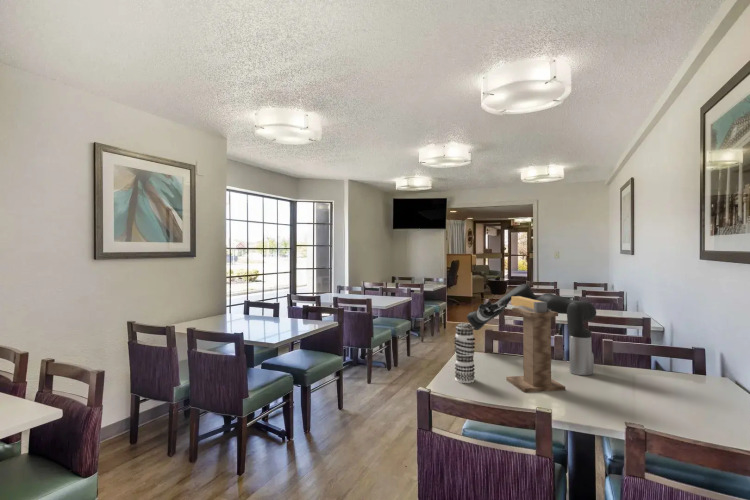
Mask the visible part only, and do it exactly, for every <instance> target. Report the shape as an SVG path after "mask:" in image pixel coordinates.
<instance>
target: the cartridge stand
mask: <svg viewBox="0 0 750 500" xmlns="http://www.w3.org/2000/svg"><path fill="white" fill-rule="evenodd" d="M511 311H512V312H514V313H516V314H520V315H523V316H522V321H523V322H522V327H523V328H522V331H523V332H522V333H523V337H522V338H523V339H522V341H523V343H522V344H523V345H522V346H523V347H522V348H523V350H522V351H523V357H522V358H523V375H516V376H515V375H512V376H511V375H510V376H506V379H505V380H506V382H508V383H510V384H511V385H513V386H514V387H515V388H516V389H518V390H520V391H521V392H523V393H536V392H537V393H539V392H555V391H558V392H559V391H566V386H565V385H563V384H561V383H560V382H559V381H556V380H554V379H553V378H552V317H559V313H558V312H554V311H551V309H547V312H537V310H536V309H532V308H529V307H525V306H521V305H519V307H512V308H511Z"/></svg>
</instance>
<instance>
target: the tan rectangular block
mask: <svg viewBox="0 0 750 500" xmlns="http://www.w3.org/2000/svg"><path fill="white" fill-rule="evenodd" d="M510 302H511V306H514V307H516V308H519V305H521V306H525V307H529V308H532V309H536V310H537V312H547V302H542V301H538V300H534V299H529V298H525V297H521V296H511V301H510Z"/></svg>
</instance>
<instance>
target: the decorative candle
mask: <svg viewBox="0 0 750 500" xmlns="http://www.w3.org/2000/svg"><path fill="white" fill-rule="evenodd" d="M473 328H474V327H472V325H471V324H470V323H469V322H459V323H458V324H457V325H456V326H455V336H454V339H453V340H454V341H453V342H454V354H455V357H456V358H455V364H454V366H455V368H454V369H455V371H454V374H455V375H454V376H455V378H454V379H455V381H456V382H458V383H462V384H470V383H471V382H472V383H474V382H475V381H474V380H475V378H476V377H475V374H476V372H475V369H476V368H475V367H476V366H475V360H474V355H475V352H476V351H475V350H474V349H476V347H475V345H476V343H475V342H474V341H475V340H476V338H475V337H474V335H475V334H474V329H473Z"/></svg>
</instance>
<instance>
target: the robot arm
mask: <svg viewBox="0 0 750 500" xmlns="http://www.w3.org/2000/svg"><path fill="white" fill-rule="evenodd" d="M511 296H521V297H525V298H529V299H534V300H538V301H542V302H547V309H551V311H554V312H558V314H559V315H560V314H561V315H564V314H565V315H566V323H567V329H568V332H569V333H568V334H569V338H568V339H569V341H568V342H569V344H568V345H569V373H571V374H573V375H577V376H578V375H579V376H591V375H593V374H594V373H595V372H594V371H595V370H594V366H595V365H594V363H595V362H594V353H593V352H592V331H591V330H590V329H588V328H586V327H584V322H590V321H592V320H594V319H595V318H596V317H597V316H596V315H597V309H596V307H595V306H594V305H593V304H592V303H591V302H589V301H583V300H574V299H570V298H568V297H564V296H560V295H558V294H553V293H548V292H546V293H545V292H544V293H543V294H541V295H540V296H537V295H535V293H534V292H533V290H532V288H531V287H530V285H529V284H528V283H522V284H518V285H517V286H516V287H514V288H513V289H512V290H511V291H509V292H507V293H506V294H505V295H504V296H502V297H501V298H500V299H499V300H497V301H495V302H494V303H492V302H491V300H488V301H487V302H484V303H481V304H479V305H478V306H477V310H476V311H475V310H474V311H472V312H469V313H468V314H467V315H466V319H467V322H468V323H469V324H471V325H472V327H474V328H473V331H479V330H481V329H482V328H483V327H484V326H485V325H486V324H487V323H489V322H490V321H491V320H492V319H495V318H496V317H498V316H500V315H501V314H502V313H503V312H504V311H505V309H506V308H508V304H509V303H510V302H511Z"/></svg>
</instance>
